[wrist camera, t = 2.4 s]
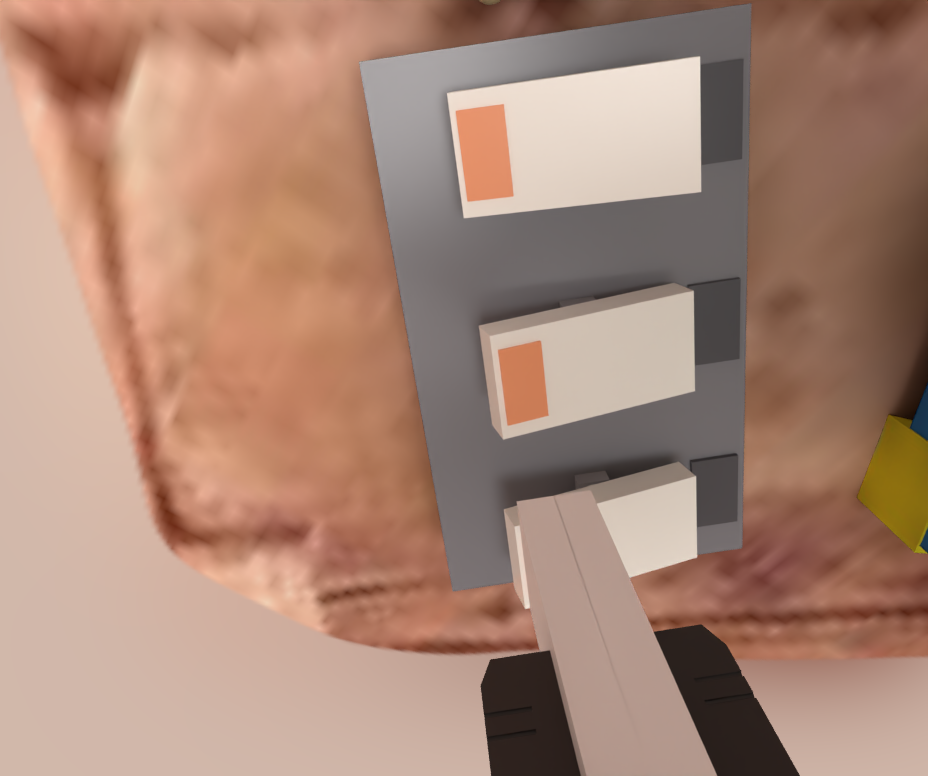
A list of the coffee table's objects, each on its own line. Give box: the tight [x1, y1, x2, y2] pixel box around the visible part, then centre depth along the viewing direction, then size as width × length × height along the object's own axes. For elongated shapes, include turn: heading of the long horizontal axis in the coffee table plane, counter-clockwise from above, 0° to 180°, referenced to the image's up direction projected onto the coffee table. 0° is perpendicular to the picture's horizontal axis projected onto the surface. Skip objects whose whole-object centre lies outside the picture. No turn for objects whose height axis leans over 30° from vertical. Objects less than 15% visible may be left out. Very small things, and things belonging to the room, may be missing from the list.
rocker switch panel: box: [359, 3, 751, 591], centre depth 27 cm, size 12×20×5 cm, turn 8°
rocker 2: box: [479, 283, 695, 440], centre depth 24 cm, size 7×4×2 cm, turn 98°
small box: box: [504, 462, 697, 609], centre depth 27 cm, size 7×4×2 cm, turn 98°
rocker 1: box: [447, 56, 701, 218], centre depth 22 cm, size 7×4×2 cm, turn 98°
